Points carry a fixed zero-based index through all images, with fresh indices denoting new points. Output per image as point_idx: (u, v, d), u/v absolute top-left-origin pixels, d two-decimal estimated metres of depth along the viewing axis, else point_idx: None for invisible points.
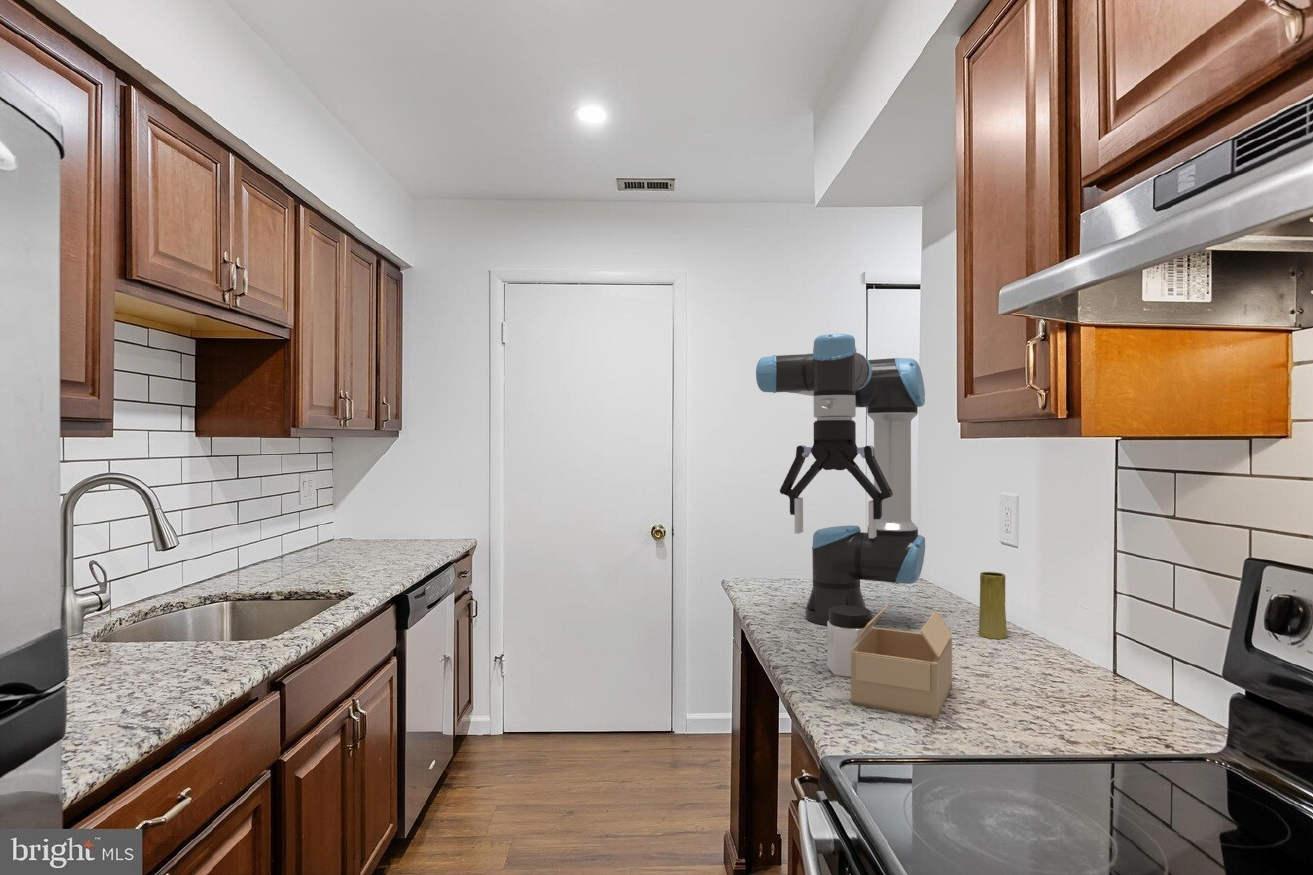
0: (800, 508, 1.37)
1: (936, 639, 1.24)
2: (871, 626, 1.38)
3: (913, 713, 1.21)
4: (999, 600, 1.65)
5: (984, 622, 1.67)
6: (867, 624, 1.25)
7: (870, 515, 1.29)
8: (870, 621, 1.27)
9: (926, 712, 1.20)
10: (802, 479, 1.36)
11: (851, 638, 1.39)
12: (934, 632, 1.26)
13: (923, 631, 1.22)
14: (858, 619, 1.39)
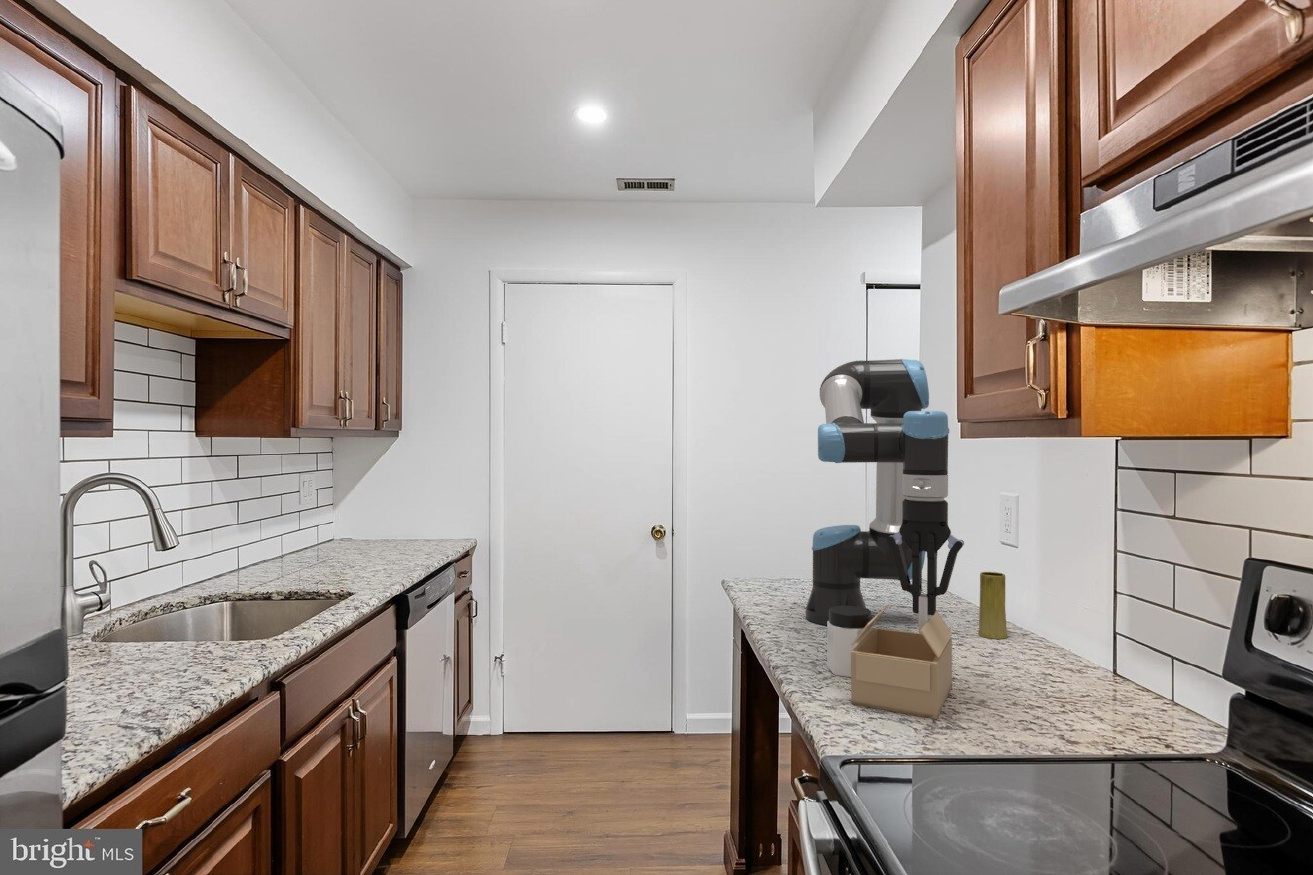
0: None
1: (936, 639, 1.24)
2: (871, 626, 1.38)
3: (913, 713, 1.21)
4: (999, 600, 1.65)
5: (984, 622, 1.67)
6: (867, 624, 1.25)
7: (924, 611, 1.27)
8: (870, 621, 1.27)
9: (926, 712, 1.20)
10: (913, 571, 1.28)
11: (851, 638, 1.39)
12: (934, 632, 1.26)
13: (923, 631, 1.22)
14: (858, 619, 1.39)
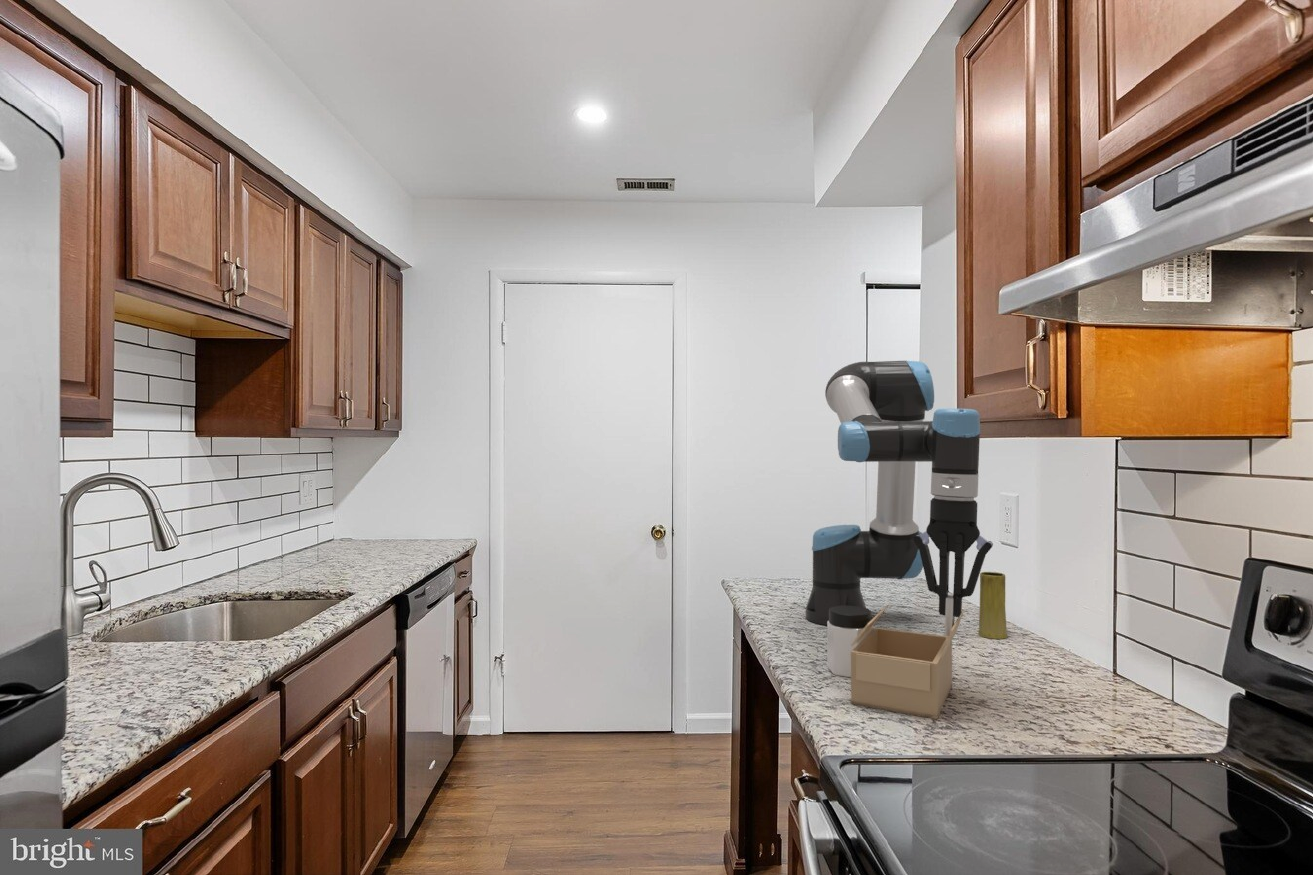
0: None
1: (950, 640, 1.23)
2: (871, 626, 1.38)
3: (913, 713, 1.21)
4: (999, 600, 1.65)
5: (984, 622, 1.67)
6: (867, 624, 1.25)
7: (950, 612, 1.25)
8: (870, 621, 1.27)
9: (926, 712, 1.20)
10: (941, 572, 1.26)
11: (851, 638, 1.39)
12: (953, 633, 1.24)
13: (952, 631, 1.20)
14: (858, 619, 1.39)
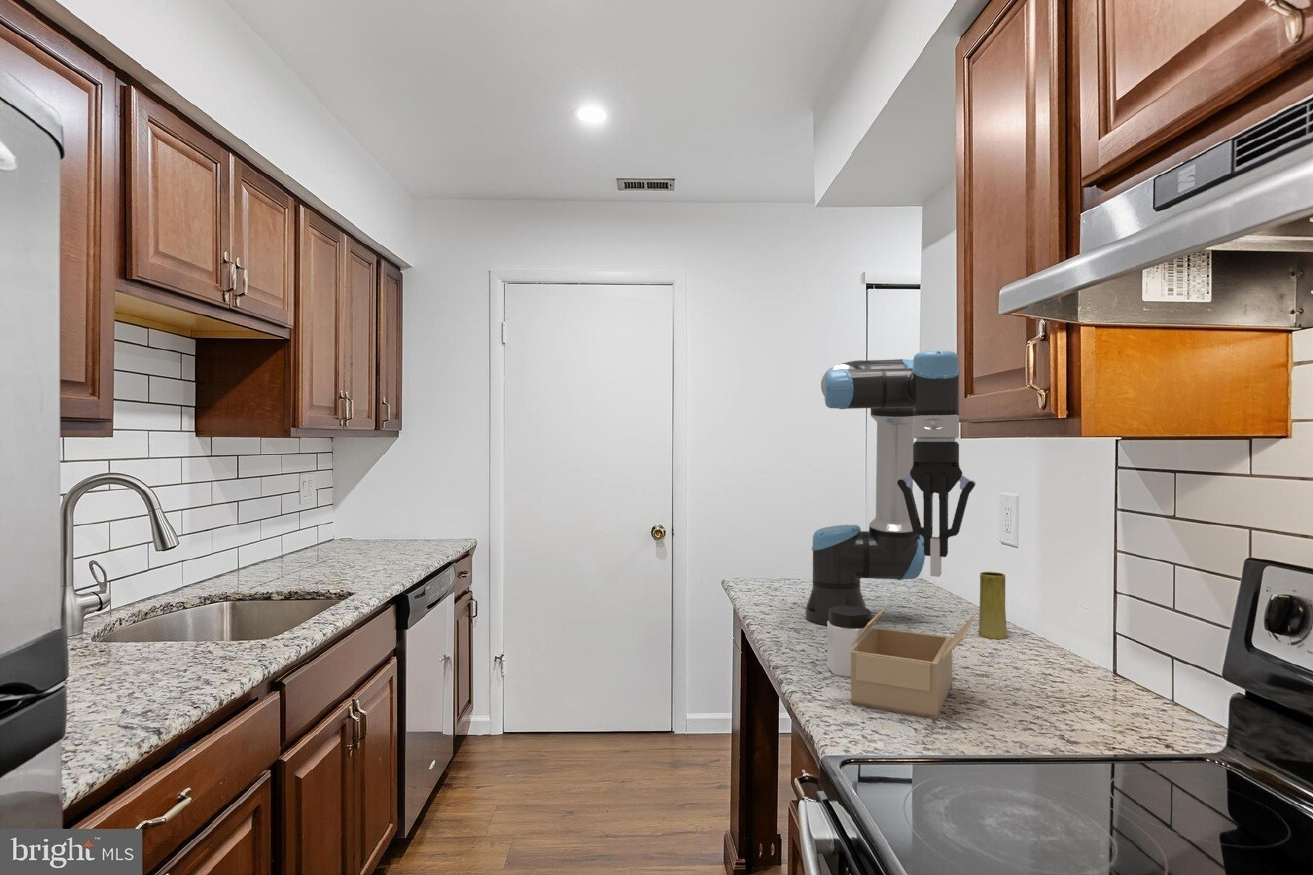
0: None
1: None
2: (871, 626, 1.38)
3: (913, 713, 1.21)
4: (999, 600, 1.65)
5: (984, 622, 1.67)
6: (867, 624, 1.25)
7: (937, 553, 1.26)
8: (870, 621, 1.27)
9: (926, 712, 1.20)
10: (925, 514, 1.27)
11: (851, 638, 1.39)
12: None
13: (962, 638, 1.19)
14: (858, 619, 1.39)
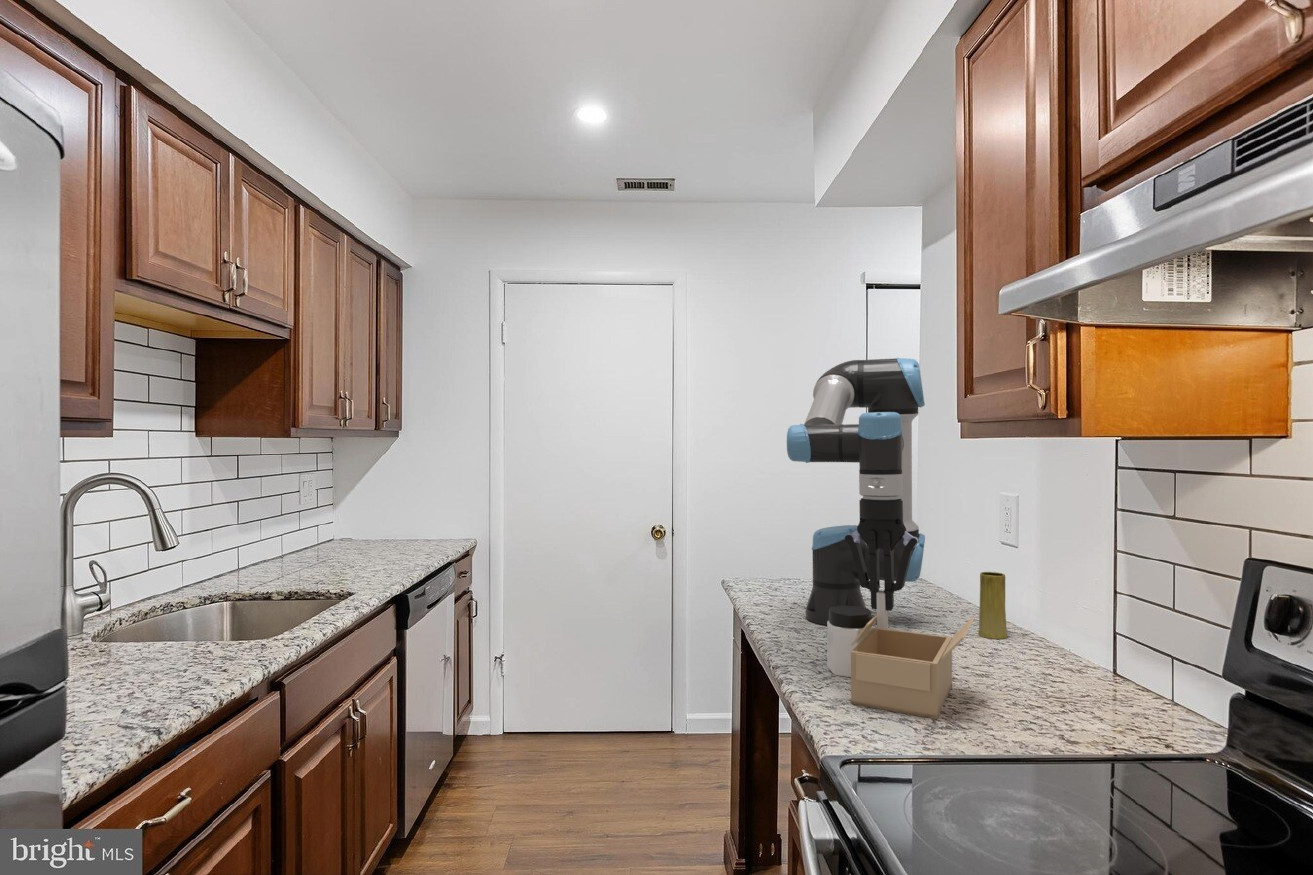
0: None
1: None
2: (871, 626, 1.38)
3: (913, 713, 1.21)
4: (999, 600, 1.65)
5: (984, 622, 1.67)
6: (867, 624, 1.26)
7: (882, 607, 1.31)
8: (870, 621, 1.27)
9: (926, 712, 1.20)
10: (871, 568, 1.32)
11: (851, 638, 1.39)
12: None
13: (962, 639, 1.19)
14: (858, 619, 1.39)
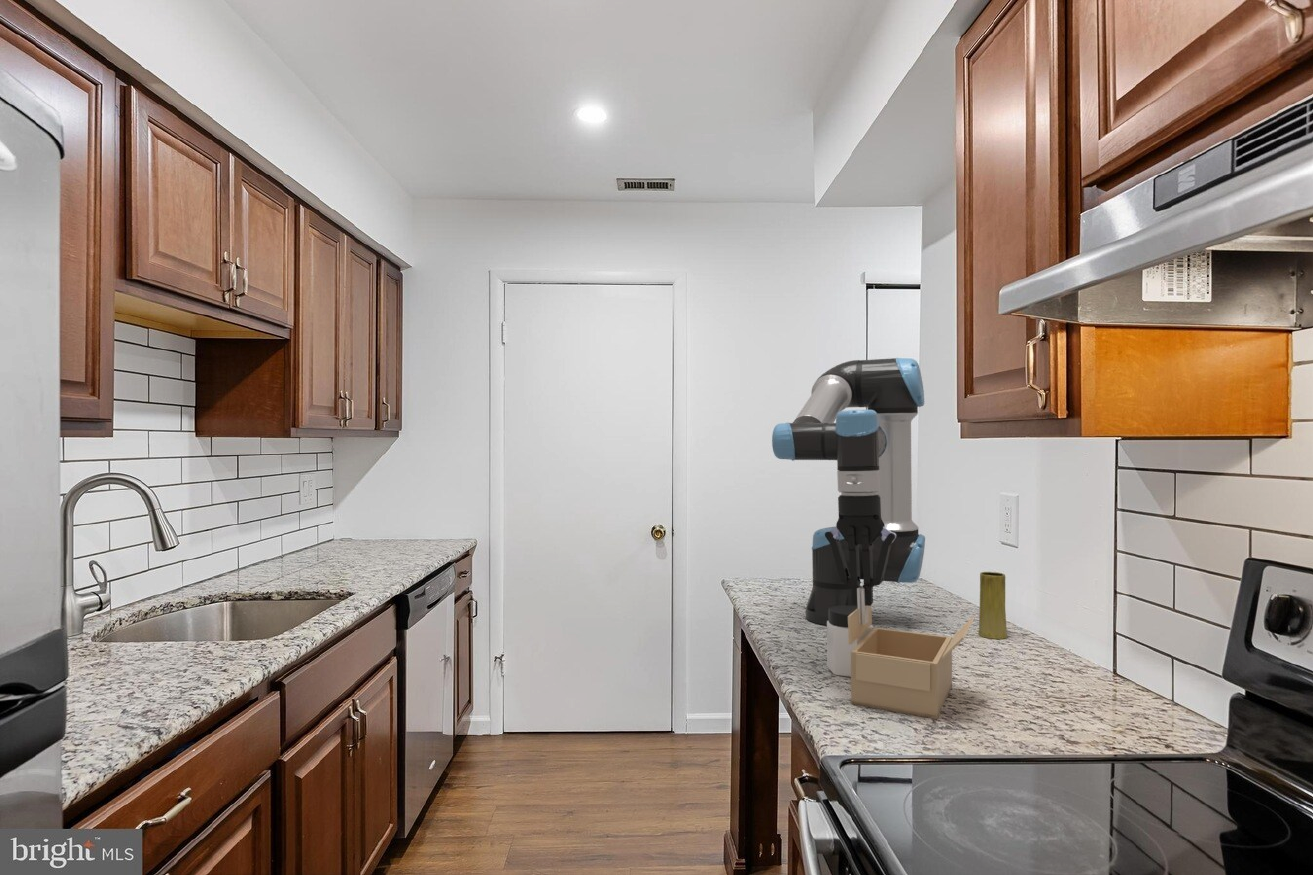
0: None
1: None
2: (867, 624, 1.38)
3: (913, 713, 1.21)
4: (999, 600, 1.65)
5: (984, 622, 1.67)
6: (848, 616, 1.27)
7: (861, 602, 1.32)
8: (851, 613, 1.29)
9: (926, 712, 1.20)
10: (851, 564, 1.33)
11: None
12: None
13: (962, 639, 1.19)
14: None
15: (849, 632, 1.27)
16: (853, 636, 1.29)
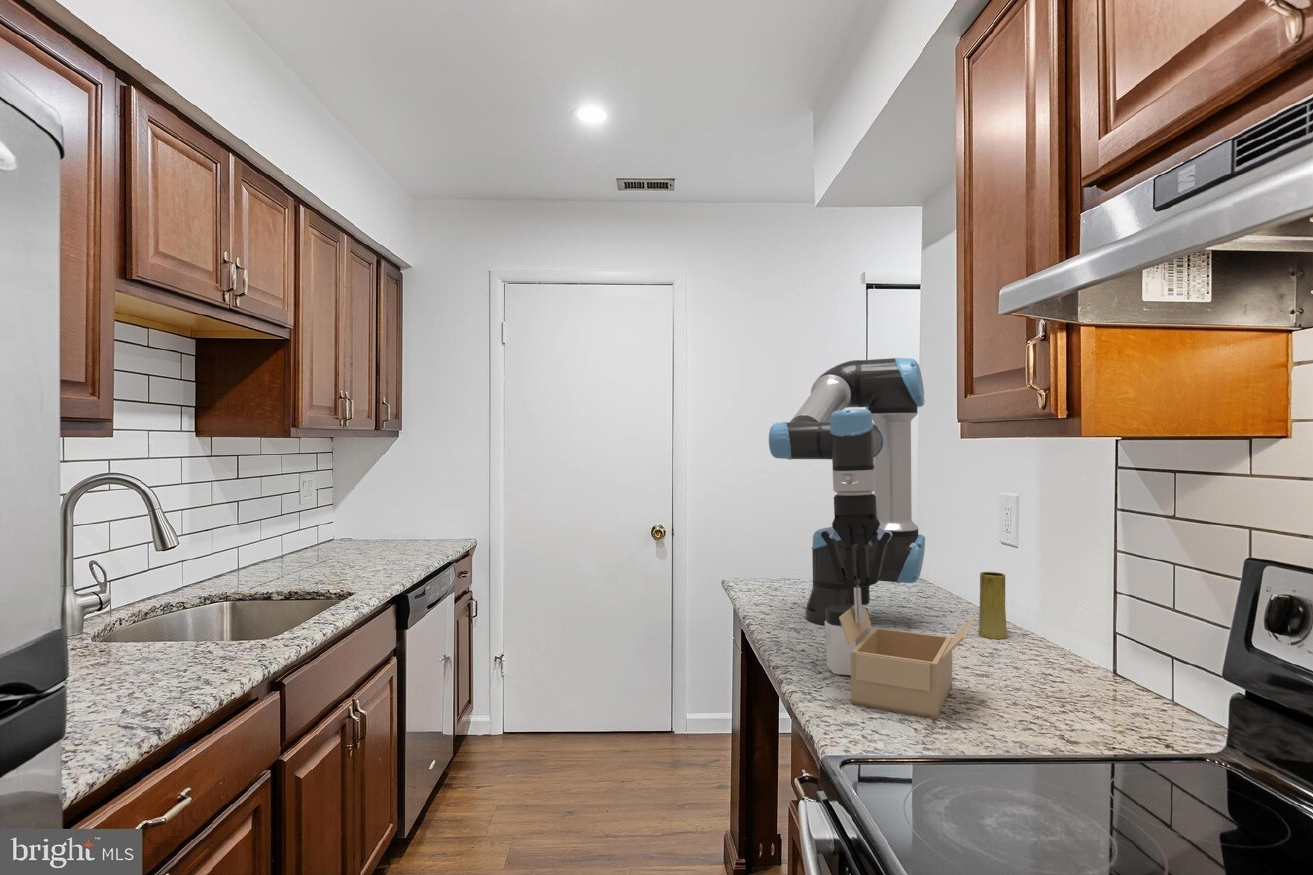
0: None
1: None
2: (866, 624, 1.38)
3: (913, 713, 1.21)
4: (999, 600, 1.65)
5: (984, 622, 1.67)
6: (839, 617, 1.28)
7: (858, 601, 1.33)
8: (842, 614, 1.30)
9: (926, 712, 1.20)
10: (847, 564, 1.34)
11: None
12: None
13: (962, 639, 1.19)
14: None
15: (845, 632, 1.27)
16: (851, 636, 1.29)
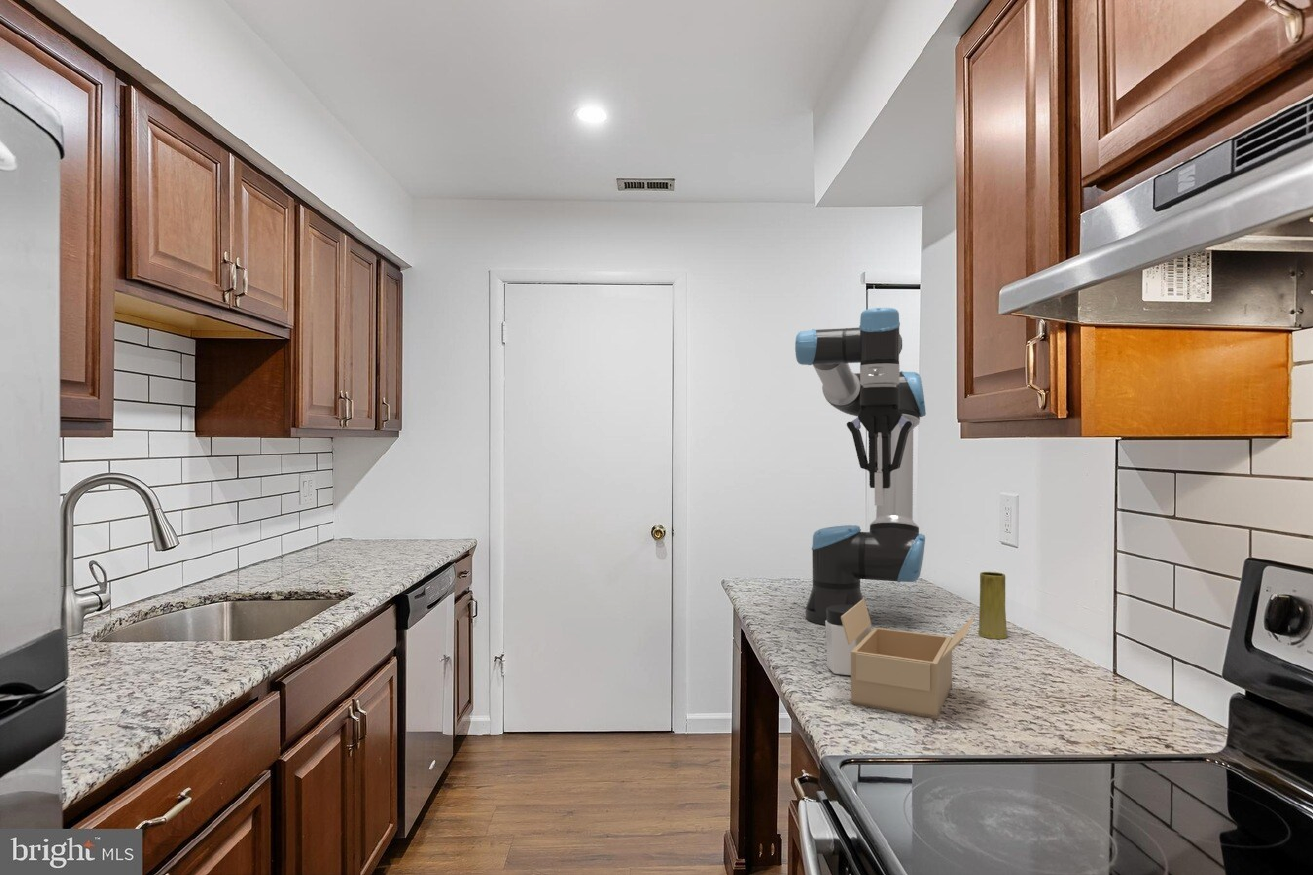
0: None
1: None
2: (866, 624, 1.38)
3: (913, 713, 1.21)
4: (999, 600, 1.65)
5: (984, 622, 1.67)
6: (841, 617, 1.28)
7: (880, 485, 1.44)
8: (844, 614, 1.30)
9: (926, 712, 1.20)
10: (870, 451, 1.46)
11: None
12: None
13: (962, 639, 1.19)
14: None
15: (846, 632, 1.27)
16: (851, 636, 1.29)
